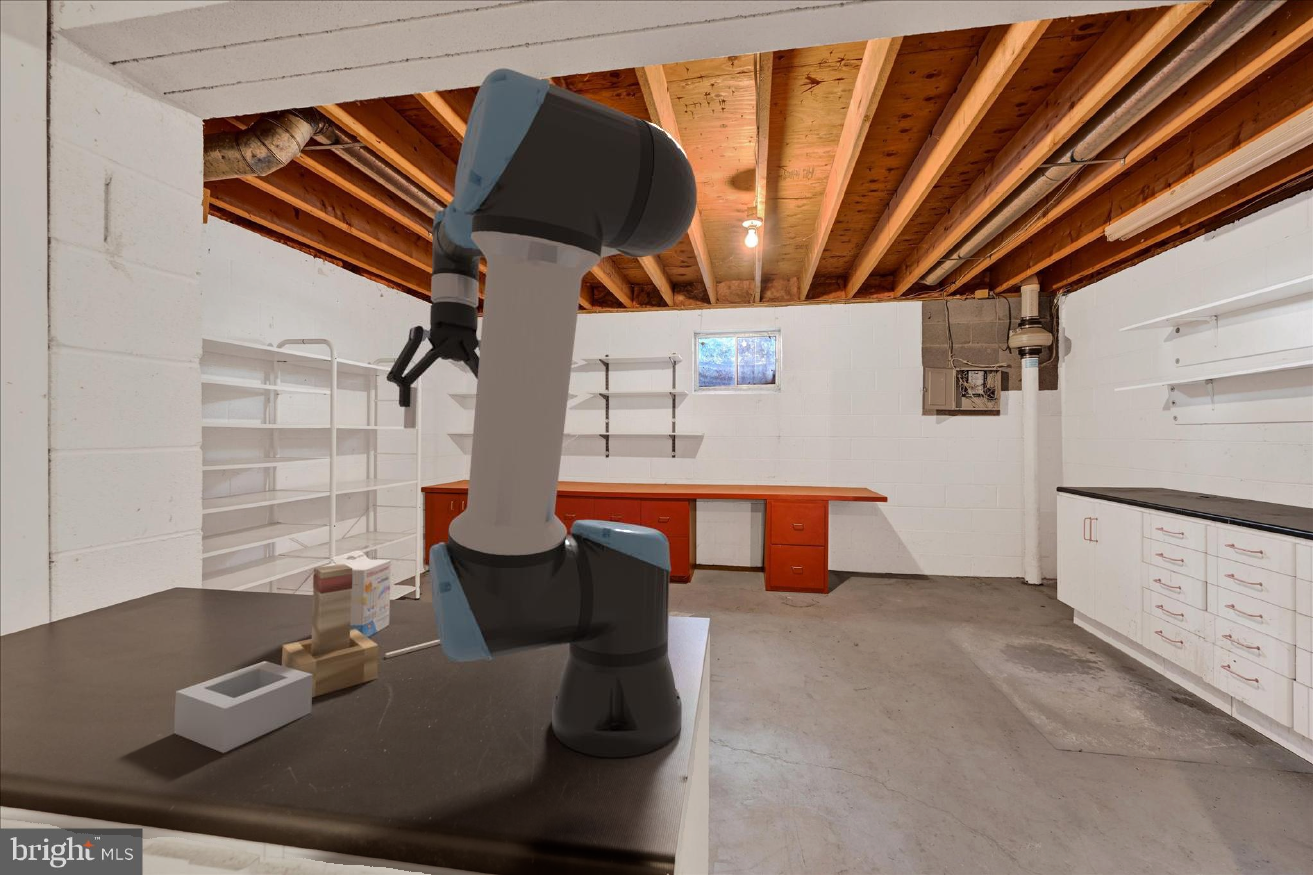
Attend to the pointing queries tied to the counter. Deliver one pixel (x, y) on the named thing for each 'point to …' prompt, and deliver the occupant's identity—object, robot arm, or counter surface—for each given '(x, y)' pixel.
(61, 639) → the counter surface
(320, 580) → the red-banded tall box
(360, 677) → the wooden square frame
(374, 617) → the ink box
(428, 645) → the thin white stick
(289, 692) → the grey square frame
